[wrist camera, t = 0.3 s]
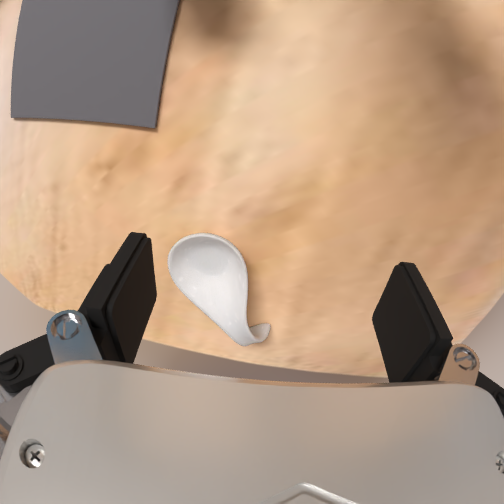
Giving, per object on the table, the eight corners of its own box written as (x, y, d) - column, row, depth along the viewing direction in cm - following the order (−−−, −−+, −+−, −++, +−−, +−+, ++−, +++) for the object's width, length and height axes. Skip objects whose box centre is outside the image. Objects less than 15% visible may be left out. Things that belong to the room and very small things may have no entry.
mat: (28, -13, 22) (25, -13, 22) (188, -31, 25) (187, -32, 24) (13, 116, 35) (10, 117, 34) (156, 127, 37) (154, 128, 37)
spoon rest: (159, 241, 48) (144, 269, 42) (223, 210, 44) (216, 236, 38) (233, 335, 59) (230, 365, 53) (290, 317, 56) (292, 348, 50)
